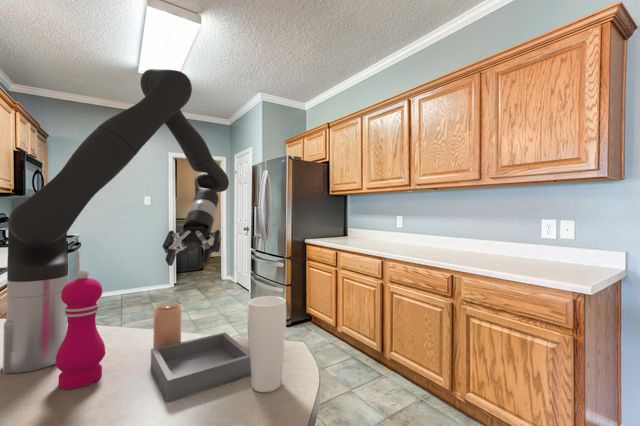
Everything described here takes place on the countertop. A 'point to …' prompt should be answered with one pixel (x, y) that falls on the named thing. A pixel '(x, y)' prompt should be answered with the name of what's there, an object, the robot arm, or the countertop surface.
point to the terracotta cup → (167, 325)
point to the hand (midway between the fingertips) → (186, 263)
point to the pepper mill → (80, 334)
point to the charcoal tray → (199, 365)
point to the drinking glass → (266, 341)
